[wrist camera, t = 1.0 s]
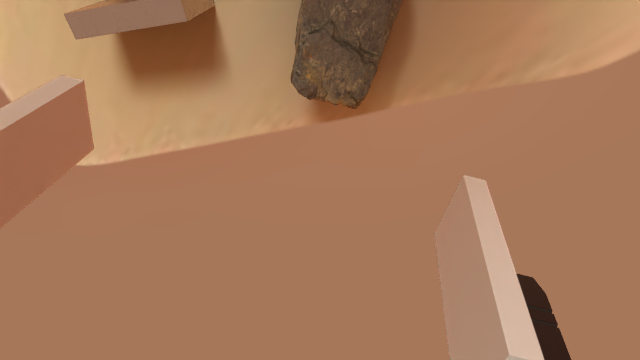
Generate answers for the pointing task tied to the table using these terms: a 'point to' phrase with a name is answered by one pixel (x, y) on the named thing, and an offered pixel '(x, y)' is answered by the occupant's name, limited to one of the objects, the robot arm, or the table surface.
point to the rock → (340, 47)
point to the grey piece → (132, 15)
